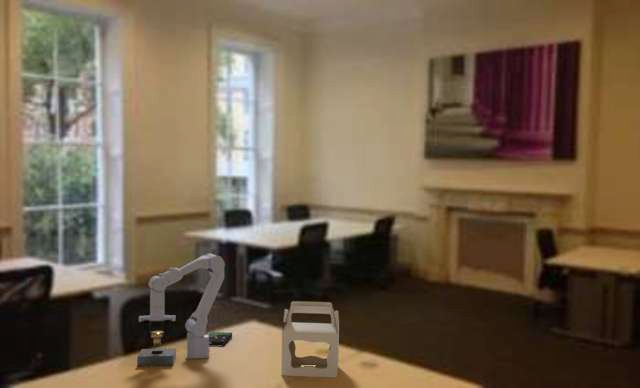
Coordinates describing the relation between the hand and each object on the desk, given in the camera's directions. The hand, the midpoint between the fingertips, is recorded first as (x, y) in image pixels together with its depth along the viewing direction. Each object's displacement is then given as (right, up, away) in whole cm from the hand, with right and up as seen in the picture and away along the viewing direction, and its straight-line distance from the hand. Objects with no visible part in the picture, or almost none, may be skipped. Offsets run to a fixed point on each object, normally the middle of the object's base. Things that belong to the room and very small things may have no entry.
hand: (157, 338), depth 244 cm
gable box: (+63, -12, -7) cm, 65 cm away
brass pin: (0, -3, 0) cm, 3 cm away
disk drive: (+19, -10, +32) cm, 39 cm away
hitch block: (0, -10, 0) cm, 10 cm away
